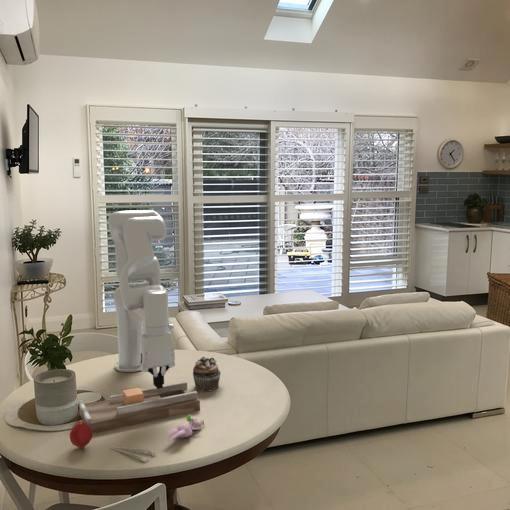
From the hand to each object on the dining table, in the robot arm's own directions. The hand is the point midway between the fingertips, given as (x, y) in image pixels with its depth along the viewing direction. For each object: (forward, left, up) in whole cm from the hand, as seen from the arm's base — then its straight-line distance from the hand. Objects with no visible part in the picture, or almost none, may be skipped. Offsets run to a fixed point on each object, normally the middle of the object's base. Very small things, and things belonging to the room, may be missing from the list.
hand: (158, 387), depth 168 cm
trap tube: (-1, -6, -7) cm, 9 cm away
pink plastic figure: (+20, +1, -8) cm, 21 cm away
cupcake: (-10, +20, -8) cm, 23 cm away
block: (-1, -8, -4) cm, 9 cm away
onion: (+13, -26, -7) cm, 30 cm away
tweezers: (+21, -16, -8) cm, 28 cm away
